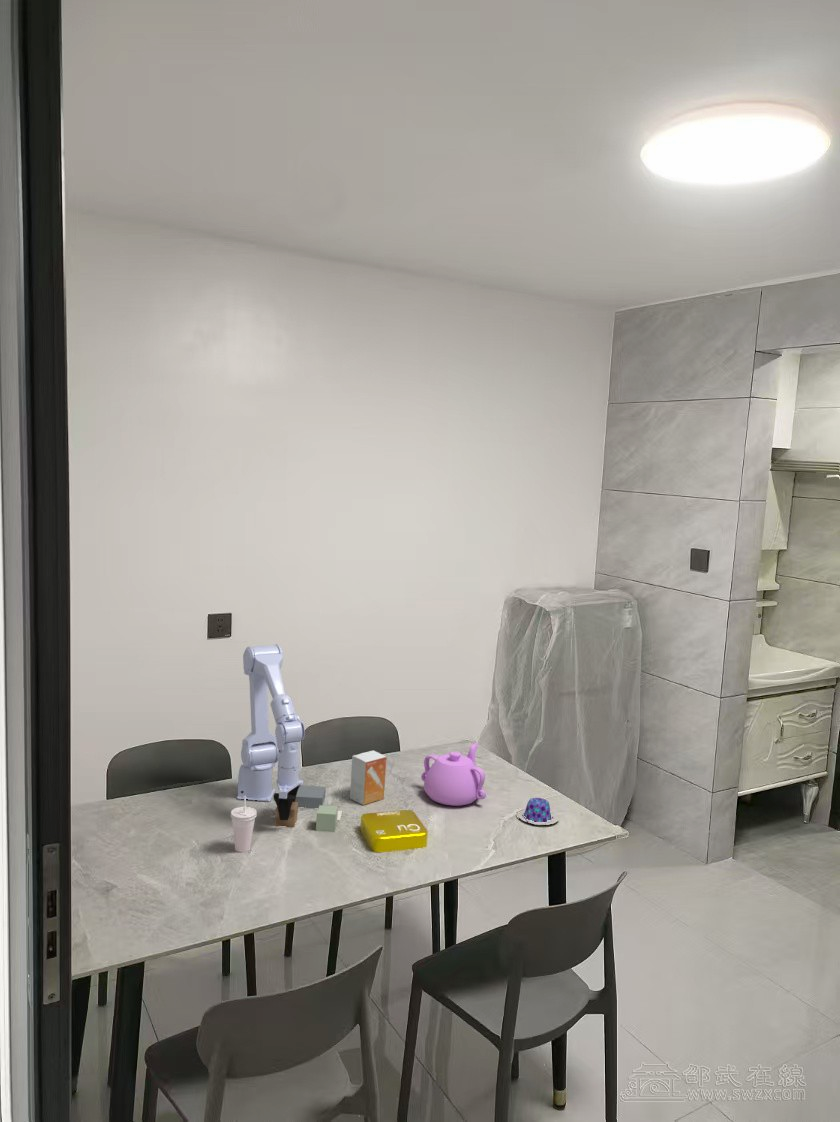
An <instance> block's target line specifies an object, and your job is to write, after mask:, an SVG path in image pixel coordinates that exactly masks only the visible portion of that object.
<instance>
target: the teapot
mask: <svg viewBox="0 0 840 1122" xmlns="http://www.w3.org/2000/svg"><path fill="white" fill-rule="evenodd" d="M478 745H479V743H478V742H474V743H472V745H471V746H470V748H469V750H468V753H467V756H466V755H463V754H462V753H461V752H460V751H457V750H456V751H449V753H445V754H441V755H439V756H438V755H436V754H434V753H433V754H432V753H431V754H429V755H427V756H426V757H425V758H424V761H423V765H424V772H422V774H421V775H420V778H421V780H422V782H423V789H424V791H425V793H426V794H427V795H428V797H429V798H430V799H431V800H432V801H434V802H436V803H438V804H441V805H445V806H452V807H453V806H454V807H455V806H459V807H461V806H466V805H470V804H472V803H474V802H475V801H476V800H477V799H479V800H484V799H485V798H486V796H487V791H486V790H484V789H483V786H484V784H485V779H486V774H485V771H484V770H483V768H481V767H479V766H477V764H476V763H477V762H476V751H477V748H478ZM430 759H432V760H434V762H433V763H432V765H430Z"/></svg>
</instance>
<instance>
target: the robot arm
mask: <svg viewBox="0 0 840 1122" xmlns="http://www.w3.org/2000/svg"><path fill="white" fill-rule="evenodd" d="M242 658H243V659H242V660H243V661H242V662H243V665H242V666H243V674H244V675H246V676H248V678H249V679H248V680H249V699H250V700H249V703H250V726H251V732H249V733H248V734H247V736H245V738H243V739H242V742H241V745H242V746H241V751H240V752H241V753H240V757H241V762H242V764H240V766H239V770H238V777H237V779H238V781H237V797H236V799H237V798H238V799H237V800H241V799H244V796H246V799H248V800H247V801H255V800H257V802H258V801H259V802H271V800H272V798H273V801H274V802H275V804H276V808H277V807H278V812H279V817H280V820H288V818H289V815H290V810H291V805H292V802H295V800H296V795H297V791H298V789H299V787H300V785H304V780H303V779H300V766H301V765H300V763H301V742H303V741H304V739H305V735H306V731H305V730H306V729H305V724H304V722H303V720H302V719H301V718H300V716H299V715H297V712H296V710H295V706H294V704H293V702H292V701H293V700H292V698H291V696H289V695H287V694H286V691H285V685H284V681H283V676H282V672H281V669H282V667H283V666H282V665H283V660H284V652H283V649H282V648H281V646H280V645H279V644H277V643H276V644H272V645H260V646H258V645H257V646H247V647H246V648H245V649H244V652H243V655H242ZM268 690H269V692H270V696H271V697H272V700H271V702H270V705H269V701H268ZM269 706H270V708H271V711H272V715H273V718H274V722H275V725H276V727H275V729H274V734H273V733H272V732H270V727H269V725H270V724H269V723H270V722H269ZM276 763H277V779H276V786H277V789H278V793H277V792H276V788H273V770H274V768H273V767H275V766H276Z"/></svg>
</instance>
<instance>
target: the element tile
mask: <svg viewBox="0 0 840 1122" xmlns="http://www.w3.org/2000/svg"><path fill="white" fill-rule="evenodd" d="M360 832H361V834H362V836H363V837H364V839H365V841H366V843H367V845H368V847H369V848H370V850H371V851H372V852H375V853H379V854H380V853H388V852H399V851H408V849H411V850H418V849H417V848H421V849H424V848H423V847H425V848H427V846H428V835H429V833H428V832H429V831H428V830H427V828H426V826H425V825H424V824H423V822H422V821H421V820H420V818H419V817H418V815H417V814H416V813H415V812H414V811H413V810H410V809H404V810H391V811H381V812H380V811H379V812H367V813H364V814H362V815H361V817H360ZM415 848H416V849H415Z"/></svg>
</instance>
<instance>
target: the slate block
mask: <svg viewBox="0 0 840 1122" xmlns="http://www.w3.org/2000/svg"><path fill="white" fill-rule="evenodd" d="M326 789H327V788H326V786H320V785H319V786H316V785H304V784H303V785H300V787H299V789H298V791H297V795H296V800H295V802H298V807H304V808H303V809H315V808H319V805H323V806H324V802H325V799H326ZM305 807H306V808H305Z"/></svg>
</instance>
